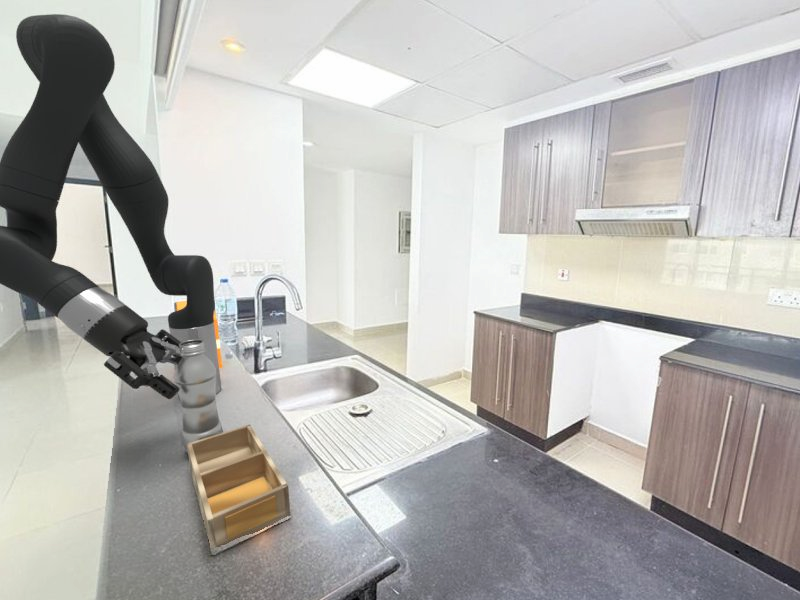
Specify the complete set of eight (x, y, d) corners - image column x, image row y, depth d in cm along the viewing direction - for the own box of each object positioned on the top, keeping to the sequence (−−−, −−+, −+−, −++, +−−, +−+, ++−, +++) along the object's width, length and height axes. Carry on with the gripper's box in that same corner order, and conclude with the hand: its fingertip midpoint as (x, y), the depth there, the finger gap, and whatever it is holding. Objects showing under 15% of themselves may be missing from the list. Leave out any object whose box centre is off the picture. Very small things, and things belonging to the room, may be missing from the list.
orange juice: (182, 367, 103) (173, 300, 99) (215, 360, 109) (208, 296, 105) (187, 376, 97) (178, 304, 94) (222, 368, 103) (215, 299, 99)
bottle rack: (190, 471, 58) (187, 443, 57) (252, 450, 64) (249, 424, 63) (212, 558, 43) (207, 522, 42) (291, 519, 48) (288, 487, 47)
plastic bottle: (214, 435, 68) (202, 335, 65) (231, 448, 64) (219, 341, 60) (177, 451, 64) (162, 343, 60) (193, 466, 59) (177, 351, 56)
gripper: (87, 314, 51) (182, 385, 54) (145, 297, 65) (218, 354, 68) (53, 351, 51) (149, 420, 55) (118, 326, 65) (192, 382, 68)
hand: (188, 383), depth 61 cm, fingers open, 8 cm apart
